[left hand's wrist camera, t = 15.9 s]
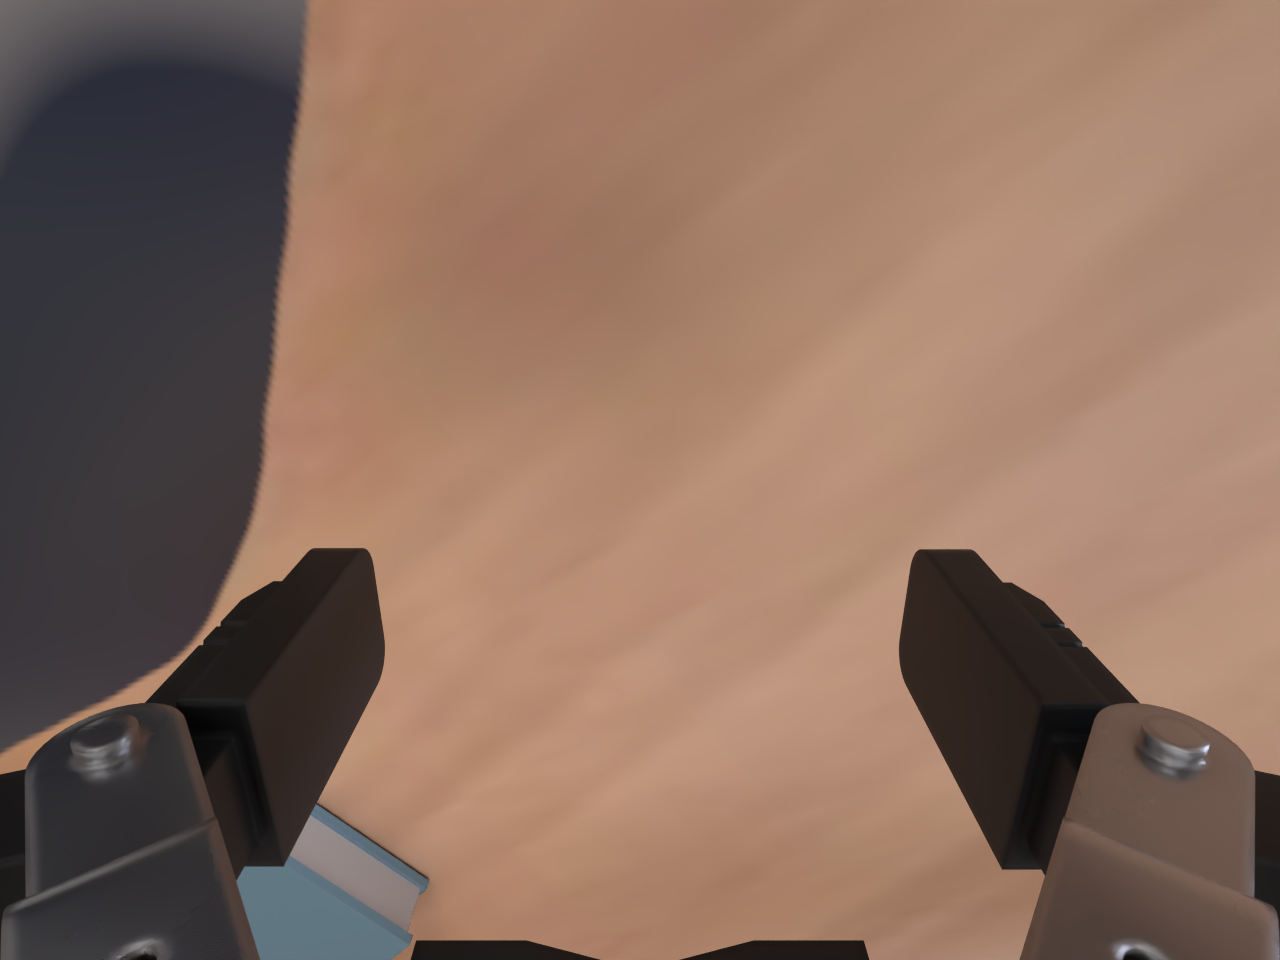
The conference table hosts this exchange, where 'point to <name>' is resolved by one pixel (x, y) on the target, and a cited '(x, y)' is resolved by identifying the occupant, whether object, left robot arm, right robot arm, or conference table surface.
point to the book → (331, 898)
